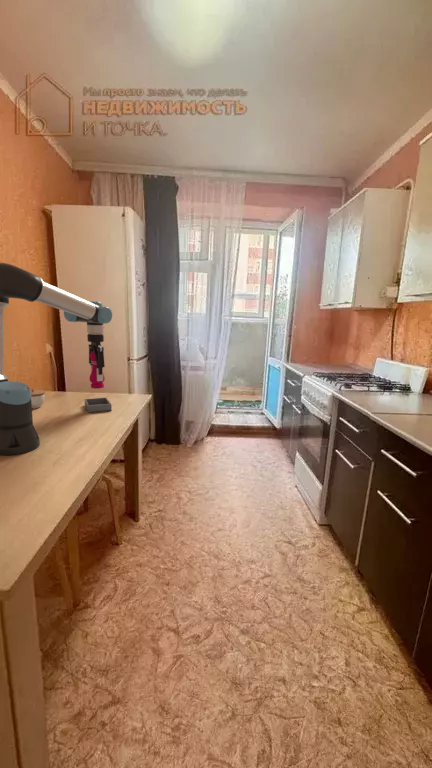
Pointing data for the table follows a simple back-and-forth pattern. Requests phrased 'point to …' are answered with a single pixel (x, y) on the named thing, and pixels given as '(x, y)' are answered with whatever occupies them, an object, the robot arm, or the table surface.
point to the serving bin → (97, 405)
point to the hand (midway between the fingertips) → (97, 379)
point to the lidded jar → (37, 398)
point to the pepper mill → (95, 373)
